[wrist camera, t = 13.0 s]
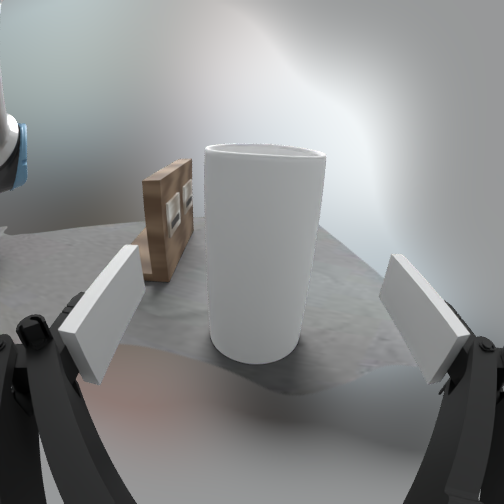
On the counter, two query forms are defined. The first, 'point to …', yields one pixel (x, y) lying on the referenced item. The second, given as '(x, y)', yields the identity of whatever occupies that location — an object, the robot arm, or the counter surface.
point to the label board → (166, 220)
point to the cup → (260, 245)
